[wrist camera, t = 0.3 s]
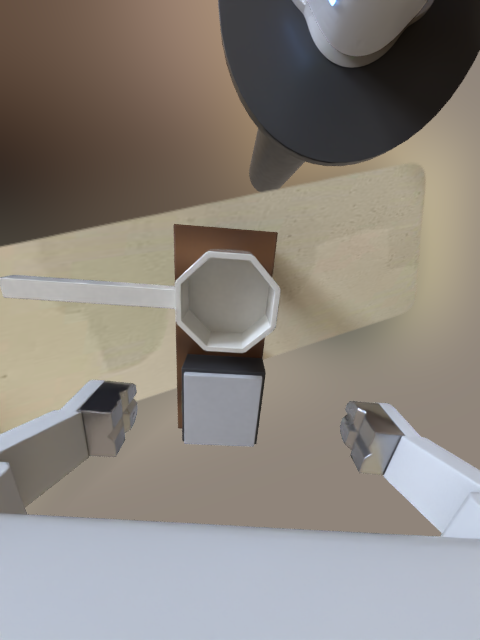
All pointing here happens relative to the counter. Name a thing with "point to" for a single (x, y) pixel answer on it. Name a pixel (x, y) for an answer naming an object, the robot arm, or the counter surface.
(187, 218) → the counter surface
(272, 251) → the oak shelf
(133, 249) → the counter surface
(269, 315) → the scoop bowl
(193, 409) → the kitchen scale
